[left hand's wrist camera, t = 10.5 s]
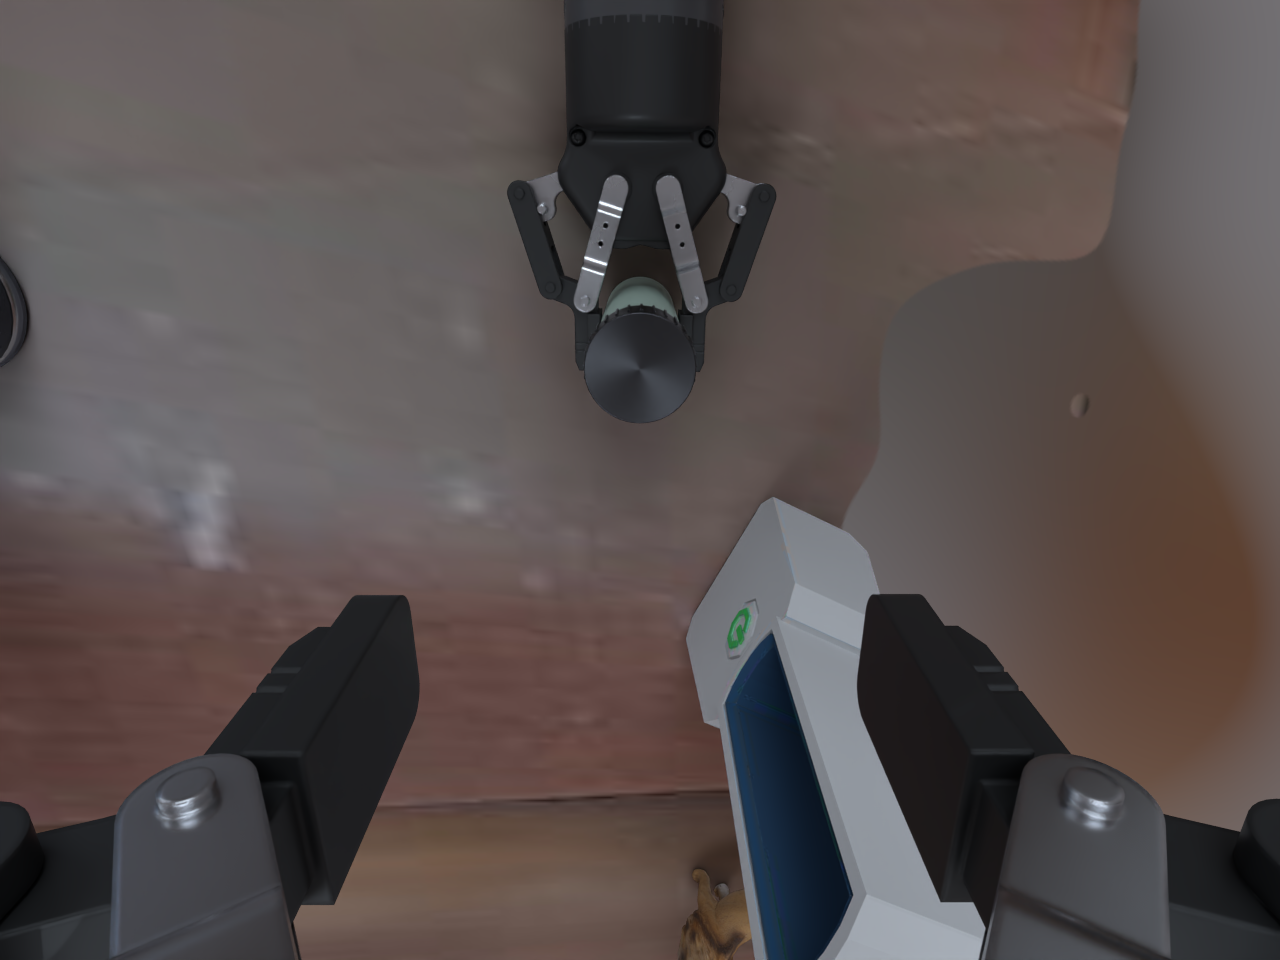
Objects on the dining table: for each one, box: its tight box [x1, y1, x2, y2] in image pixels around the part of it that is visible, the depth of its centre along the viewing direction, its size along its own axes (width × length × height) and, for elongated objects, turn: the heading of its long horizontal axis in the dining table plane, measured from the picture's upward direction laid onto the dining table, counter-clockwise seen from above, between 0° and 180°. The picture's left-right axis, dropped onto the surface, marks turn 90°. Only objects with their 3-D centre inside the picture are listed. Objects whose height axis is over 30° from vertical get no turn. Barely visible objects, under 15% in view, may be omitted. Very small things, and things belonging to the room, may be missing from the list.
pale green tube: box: [601, 277, 679, 322], centre depth 38 cm, size 4×4×16 cm
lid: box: [583, 304, 697, 423], centre depth 31 cm, size 5×5×2 cm
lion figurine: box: [678, 869, 752, 960], centre depth 58 cm, size 15×5×9 cm, turn 132°
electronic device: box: [686, 497, 985, 960], centre depth 39 cm, size 12×8×30 cm, turn 153°
